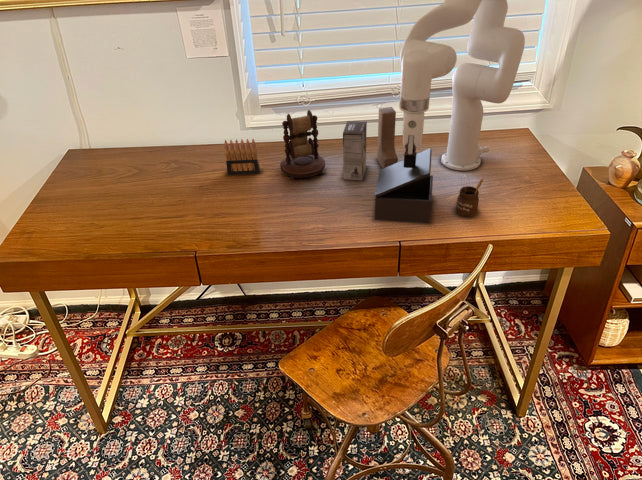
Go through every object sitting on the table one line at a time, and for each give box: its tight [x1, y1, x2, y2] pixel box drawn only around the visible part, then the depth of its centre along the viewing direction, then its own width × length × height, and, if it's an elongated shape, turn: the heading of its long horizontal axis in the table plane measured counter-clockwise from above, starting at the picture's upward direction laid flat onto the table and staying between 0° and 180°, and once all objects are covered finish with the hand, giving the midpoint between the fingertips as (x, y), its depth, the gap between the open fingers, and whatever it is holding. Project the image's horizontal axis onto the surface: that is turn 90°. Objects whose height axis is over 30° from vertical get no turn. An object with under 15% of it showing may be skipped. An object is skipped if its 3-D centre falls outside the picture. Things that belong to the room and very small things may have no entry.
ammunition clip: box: [224, 138, 261, 176], centre depth 177 cm, size 11×2×12 cm, turn 90°
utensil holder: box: [455, 174, 485, 218], centre depth 153 cm, size 6×6×12 cm
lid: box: [374, 147, 433, 198], centre depth 153 cm, size 16×14×1 cm
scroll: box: [279, 109, 326, 181], centre depth 174 cm, size 15×15×20 cm
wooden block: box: [376, 106, 399, 169], centre depth 175 cm, size 9×4×18 cm, turn 10°
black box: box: [374, 174, 434, 224], centre depth 158 cm, size 15×14×7 cm
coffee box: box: [342, 120, 368, 181], centre depth 172 cm, size 9×6×16 cm
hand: (409, 166), depth 151 cm, fingers closed
